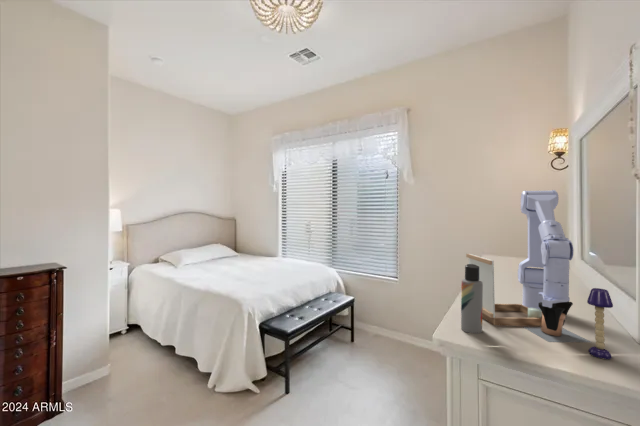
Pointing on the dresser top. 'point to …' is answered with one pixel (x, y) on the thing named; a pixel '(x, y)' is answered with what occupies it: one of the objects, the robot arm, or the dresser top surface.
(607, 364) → the dresser top surface
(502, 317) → the wooden tray
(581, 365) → the dresser top surface
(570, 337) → the mat
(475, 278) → the lotion bottle
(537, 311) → the pale green egg
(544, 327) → the terracotta pot
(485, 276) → the lid
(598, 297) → the toy lamp
